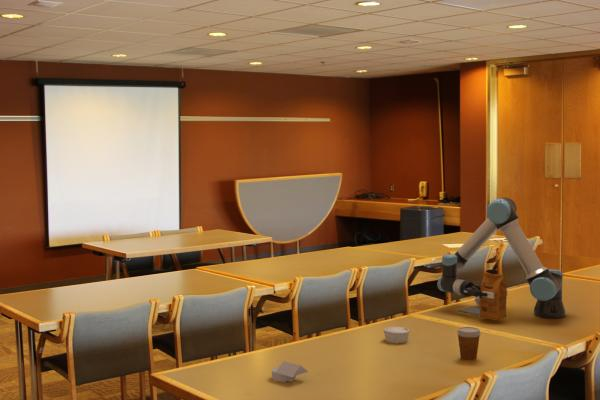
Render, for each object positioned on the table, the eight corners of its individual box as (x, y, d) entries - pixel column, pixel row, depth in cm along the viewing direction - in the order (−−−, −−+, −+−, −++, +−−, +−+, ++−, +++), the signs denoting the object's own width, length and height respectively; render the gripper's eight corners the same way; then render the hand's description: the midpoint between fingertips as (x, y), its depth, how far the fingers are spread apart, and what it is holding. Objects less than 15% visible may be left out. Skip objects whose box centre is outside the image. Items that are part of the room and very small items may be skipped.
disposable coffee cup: (453, 355, 319) (454, 326, 318) (476, 354, 319) (476, 326, 318) (460, 362, 309) (460, 332, 308) (483, 361, 310) (484, 332, 309)
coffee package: (488, 313, 384) (488, 270, 382) (509, 317, 374) (509, 273, 373) (475, 317, 377) (475, 272, 376) (497, 321, 368) (497, 275, 366)
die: (488, 310, 402) (496, 294, 404) (473, 301, 403) (481, 286, 405) (484, 312, 410) (492, 297, 412) (470, 304, 411) (478, 288, 413)
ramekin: (412, 343, 338) (412, 332, 337) (387, 345, 336) (387, 333, 335) (404, 337, 349) (404, 325, 348) (380, 338, 347) (380, 327, 346)
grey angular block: (308, 380, 289) (283, 373, 298) (308, 362, 288) (283, 356, 297) (292, 386, 282) (267, 378, 291) (292, 368, 282) (266, 361, 291)
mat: (500, 313, 393) (500, 312, 393) (486, 316, 385) (486, 315, 385) (471, 307, 406) (471, 306, 406) (457, 311, 398) (457, 310, 398)
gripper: (478, 292, 396) (514, 298, 378) (449, 298, 383) (485, 305, 365) (478, 277, 396) (514, 283, 378) (449, 283, 382) (485, 289, 365)
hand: (500, 294), depth 372 cm, fingers closed on coffee package, 9 cm apart
